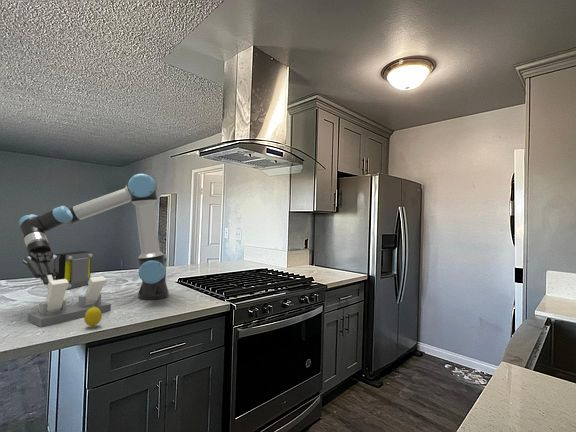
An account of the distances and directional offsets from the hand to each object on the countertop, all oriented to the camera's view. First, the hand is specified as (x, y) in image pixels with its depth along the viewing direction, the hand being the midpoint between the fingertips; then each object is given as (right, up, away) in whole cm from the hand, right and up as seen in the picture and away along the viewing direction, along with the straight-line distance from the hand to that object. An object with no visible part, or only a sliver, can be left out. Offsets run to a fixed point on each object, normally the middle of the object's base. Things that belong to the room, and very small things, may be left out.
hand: (52, 289), depth 121 cm
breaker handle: (+6, -9, +13) cm, 17 cm away
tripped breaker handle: (-1, -9, +1) cm, 9 cm away
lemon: (+20, -13, -5) cm, 24 cm away
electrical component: (-33, -12, +57) cm, 67 cm away
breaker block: (+3, -13, +7) cm, 15 cm away
